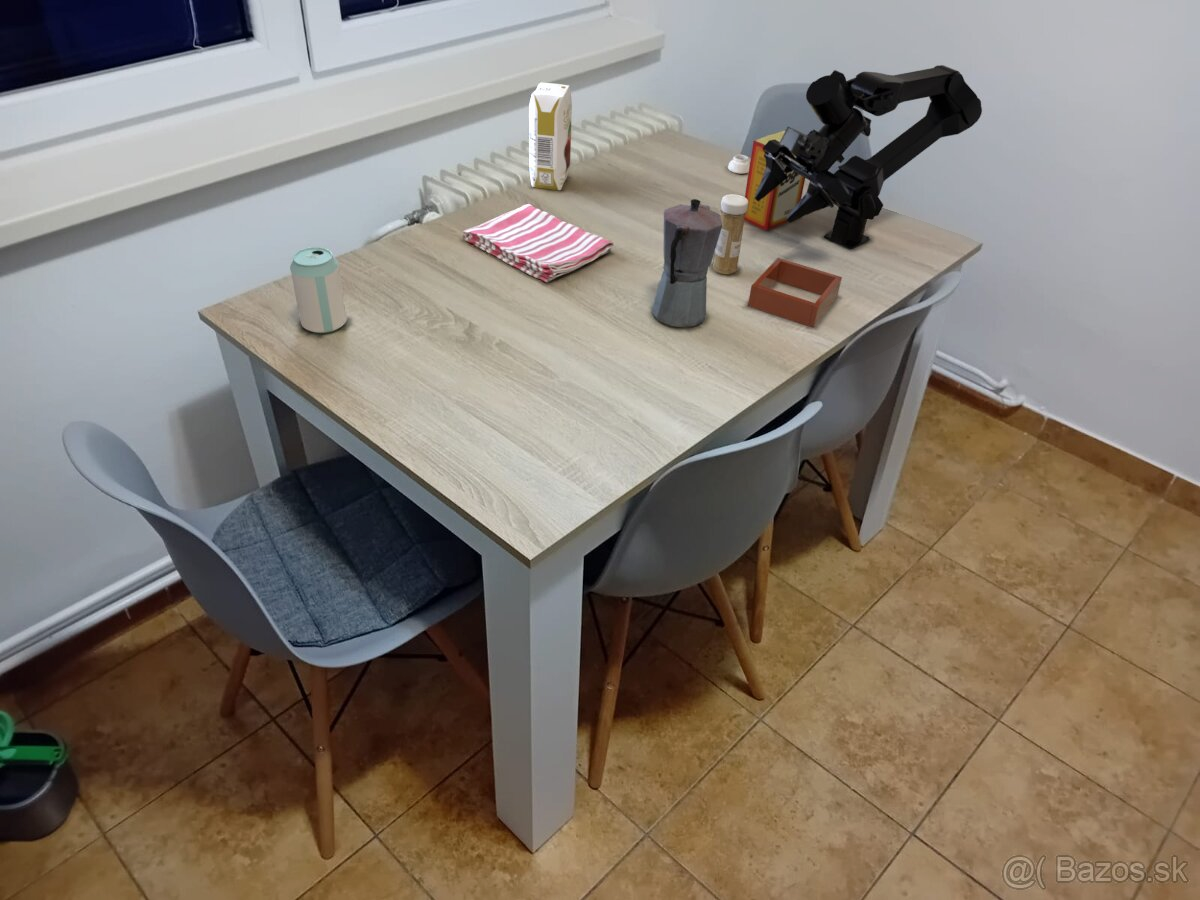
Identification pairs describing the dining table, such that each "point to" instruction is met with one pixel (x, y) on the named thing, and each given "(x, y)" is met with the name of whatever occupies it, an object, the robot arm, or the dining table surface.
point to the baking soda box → (780, 199)
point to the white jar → (739, 164)
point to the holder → (793, 305)
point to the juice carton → (550, 135)
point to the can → (318, 290)
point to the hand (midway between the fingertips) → (771, 210)
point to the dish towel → (537, 242)
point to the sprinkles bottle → (730, 233)
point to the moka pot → (686, 263)
